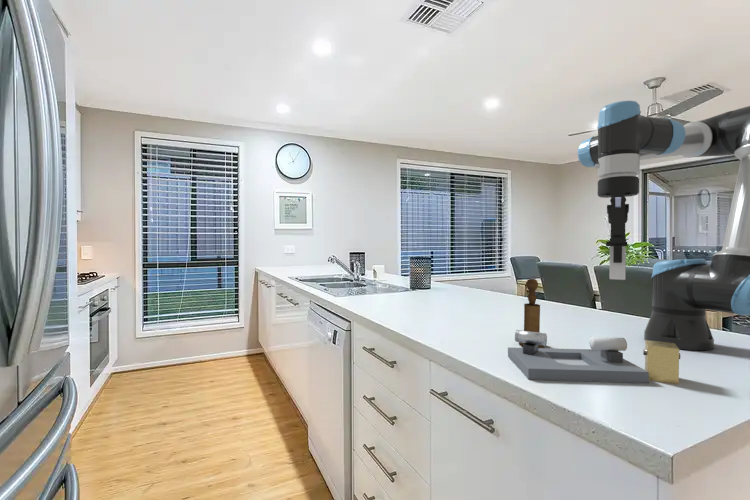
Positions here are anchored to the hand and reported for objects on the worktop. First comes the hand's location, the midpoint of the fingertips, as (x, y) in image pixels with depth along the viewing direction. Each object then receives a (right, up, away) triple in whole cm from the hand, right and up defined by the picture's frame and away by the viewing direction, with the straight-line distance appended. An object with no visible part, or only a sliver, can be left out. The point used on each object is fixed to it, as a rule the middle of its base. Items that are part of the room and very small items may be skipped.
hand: (617, 277), depth 83 cm
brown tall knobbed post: (-10, -20, +21) cm, 31 cm away
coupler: (+7, -20, -4) cm, 22 cm away
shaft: (-16, -18, +7) cm, 25 cm away
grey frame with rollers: (-9, -20, +2) cm, 22 cm away
